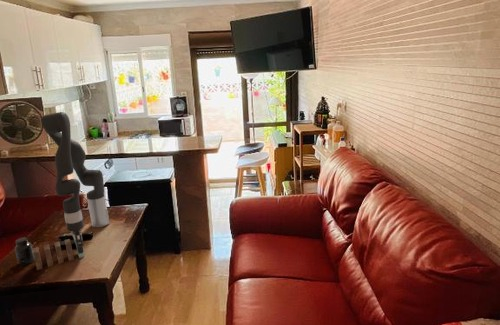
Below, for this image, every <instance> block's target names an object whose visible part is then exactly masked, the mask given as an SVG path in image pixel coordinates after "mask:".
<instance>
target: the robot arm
mask: <svg viewBox="0 0 500 325" xmlns="http://www.w3.org/2000/svg"><path fill="white" fill-rule="evenodd" d="M40 122H41V126H42V128H43V130H44V131H45V133H46V134H47V135H48V136H49V137H50V138H51V139H52V141H53V142H54V143H55V144H56V145H57V147H58V148H57V150H56V153H55V156H54V162H55V169H56V170H55V171H56V179H55V180H56V181H55V186H54V191H55V193H56V195H57V196H59V197H64V196H70V195H72V196H71V197H68V198H65V199H63V201H62V207H63V213H64V221H65V225H66V230H67V231H68V232H71V236H72V238H73V241H74V243H75V245H76V244H77V247H76V249H77V248H78V253H79V254H81V253H83V254H84V248H83V247H84V243H83V235H82V229H83V228H84V227H85V224H84V217H83V213H82V209H81V205H80V191H81V184H82V185H83V186H84V187H93V189H91V190H89V191H88V192H86V198H87V206H88V211H89V216H90V221H91V222H90V223H91V227H93V228H102V227H104V226H107V225H110V217H109V212H108V210H109V209H108V208H107V203H106V198H105V197H106V196H105V186H104V185H105V184H104V175H103V172H102V171H101V170H100V169H88V168H86V166H85V165H84V164H85V162H86V157H87V156H86V155H87V154H86V152H85V150H84V149H83V147H82V145H81V144H80V143H79V142H78V141H76V140H75V139H72V138H71V136H72V135H71V132H72V131H71V121H70V118H69V115H67V113H66V112H63V111H60V112H54V113H48V114H45V115H43V116H41V119H40ZM73 173H75V174H76V175H77V177H78V179H77V178H72V179H64V178H66V176H69V175H72V174H73ZM63 179H64V180H63ZM79 242H81V244H78V243H79ZM78 253H77V254H78Z"/></svg>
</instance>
